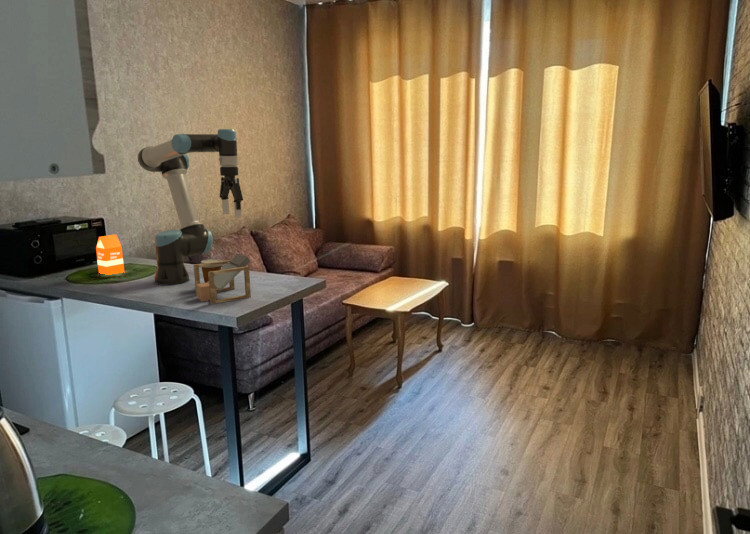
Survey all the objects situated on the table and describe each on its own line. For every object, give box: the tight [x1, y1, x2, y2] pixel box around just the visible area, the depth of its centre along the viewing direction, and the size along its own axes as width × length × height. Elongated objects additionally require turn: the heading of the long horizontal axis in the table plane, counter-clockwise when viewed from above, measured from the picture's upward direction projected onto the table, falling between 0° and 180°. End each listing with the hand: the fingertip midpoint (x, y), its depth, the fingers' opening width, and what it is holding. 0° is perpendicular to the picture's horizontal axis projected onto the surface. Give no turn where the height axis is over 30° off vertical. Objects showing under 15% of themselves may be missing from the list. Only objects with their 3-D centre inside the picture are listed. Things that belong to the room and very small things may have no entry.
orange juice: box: [95, 233, 125, 275], centre depth 271 cm, size 8×9×20 cm
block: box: [196, 282, 218, 302], centre depth 231 cm, size 6×6×6 cm
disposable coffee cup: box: [200, 258, 223, 283], centre depth 249 cm, size 10×10×12 cm
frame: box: [193, 259, 252, 305], centre depth 234 cm, size 19×17×13 cm
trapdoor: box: [208, 253, 251, 290], centre depth 235 cm, size 15×18×2 cm
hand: (232, 215), depth 245 cm, fingers open, 13 cm apart
